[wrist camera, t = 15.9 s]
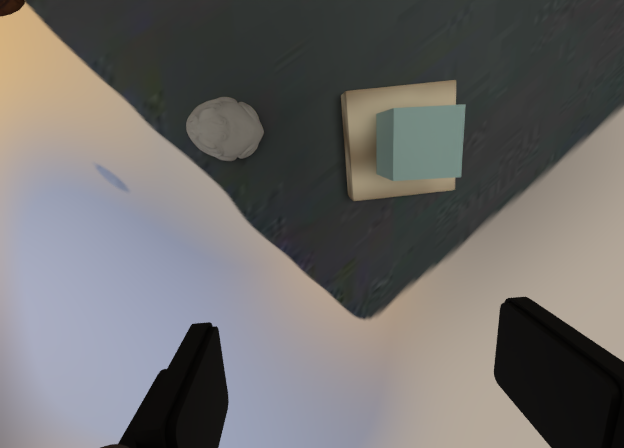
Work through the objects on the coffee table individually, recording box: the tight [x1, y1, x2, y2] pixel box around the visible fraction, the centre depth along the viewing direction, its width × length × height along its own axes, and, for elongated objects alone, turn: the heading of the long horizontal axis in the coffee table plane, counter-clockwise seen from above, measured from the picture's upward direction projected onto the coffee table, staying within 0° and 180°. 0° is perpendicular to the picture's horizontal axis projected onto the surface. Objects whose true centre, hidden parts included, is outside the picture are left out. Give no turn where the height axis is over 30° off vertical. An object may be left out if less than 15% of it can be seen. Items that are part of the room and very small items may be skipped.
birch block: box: [341, 80, 456, 201], centre depth 35 cm, size 11×11×4 cm
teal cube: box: [376, 104, 465, 181], centre depth 31 cm, size 6×6×6 cm
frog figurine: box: [186, 97, 264, 161], centre depth 32 cm, size 6×7×7 cm
